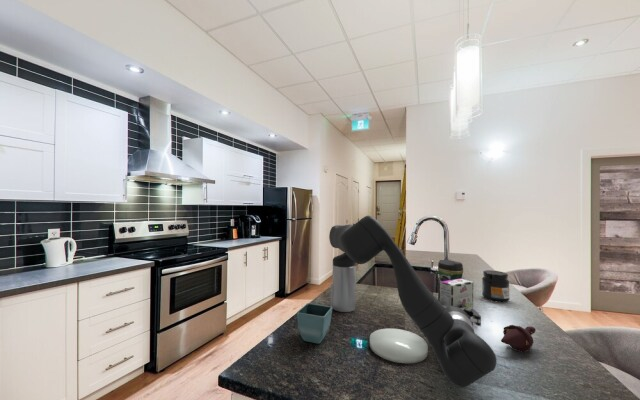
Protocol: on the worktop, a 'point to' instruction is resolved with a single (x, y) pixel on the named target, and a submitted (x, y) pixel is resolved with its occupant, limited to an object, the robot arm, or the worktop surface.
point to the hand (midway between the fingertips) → (449, 305)
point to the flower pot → (314, 322)
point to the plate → (398, 345)
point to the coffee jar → (449, 271)
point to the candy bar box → (456, 293)
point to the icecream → (518, 337)
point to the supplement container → (495, 286)
